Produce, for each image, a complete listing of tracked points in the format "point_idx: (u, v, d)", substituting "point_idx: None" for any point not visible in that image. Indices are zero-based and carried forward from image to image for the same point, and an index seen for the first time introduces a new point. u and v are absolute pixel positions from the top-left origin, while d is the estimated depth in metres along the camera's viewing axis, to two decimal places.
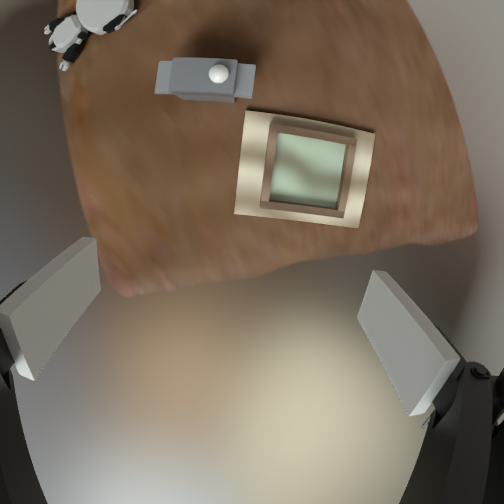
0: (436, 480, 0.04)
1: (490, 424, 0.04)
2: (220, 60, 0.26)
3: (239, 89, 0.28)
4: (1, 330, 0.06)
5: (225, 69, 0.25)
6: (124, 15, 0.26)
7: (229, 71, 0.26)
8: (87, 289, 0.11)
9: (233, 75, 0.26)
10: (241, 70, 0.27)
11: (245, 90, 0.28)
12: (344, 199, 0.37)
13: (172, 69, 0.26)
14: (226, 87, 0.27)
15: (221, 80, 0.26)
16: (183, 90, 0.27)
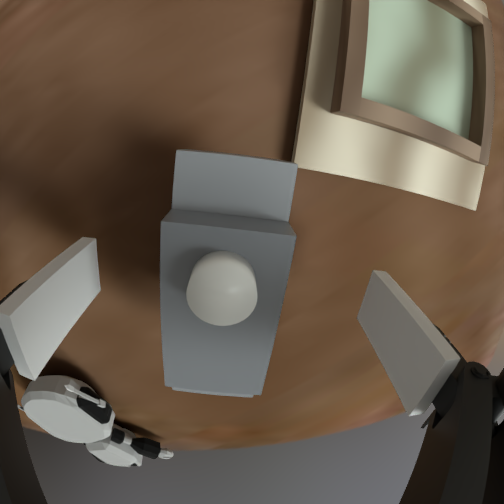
0: (436, 480, 0.04)
1: (490, 424, 0.04)
2: (166, 276, 0.09)
3: (267, 203, 0.10)
4: (1, 330, 0.06)
5: (205, 274, 0.08)
6: (79, 397, 0.18)
7: (208, 248, 0.09)
8: (87, 289, 0.11)
9: (223, 233, 0.08)
10: (197, 196, 0.10)
11: (272, 183, 0.09)
12: (466, 6, 0.09)
13: (199, 388, 0.11)
14: (271, 257, 0.09)
15: (251, 287, 0.08)
16: (265, 366, 0.11)
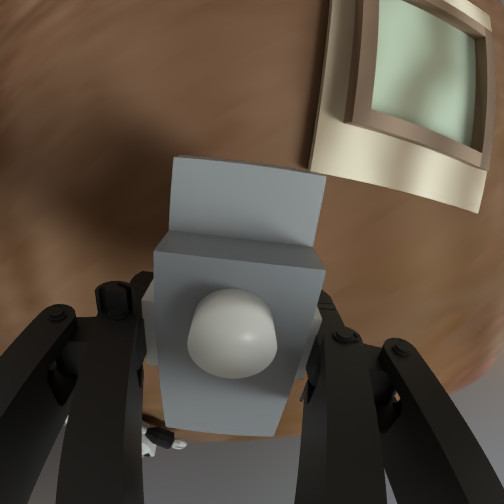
0: (318, 470, 0.04)
1: (370, 393, 0.06)
2: (163, 317, 0.07)
3: (287, 224, 0.08)
4: (143, 320, 0.08)
5: (211, 323, 0.06)
6: None
7: (214, 285, 0.07)
8: None
9: (233, 267, 0.07)
10: (200, 215, 0.08)
11: (294, 200, 0.08)
12: (469, 19, 0.10)
13: (204, 430, 0.09)
14: (293, 296, 0.07)
15: (270, 337, 0.06)
16: (279, 409, 0.09)
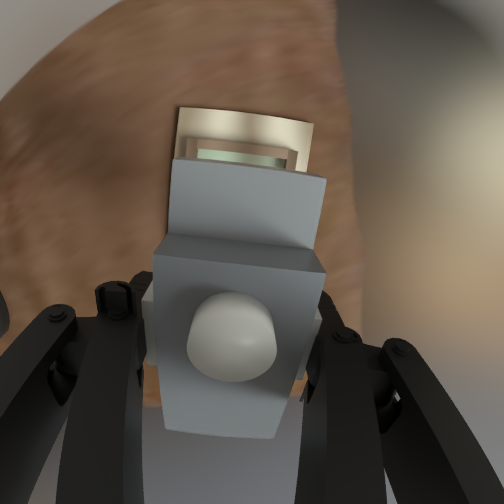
0: (318, 470, 0.04)
1: (370, 393, 0.06)
2: (162, 320, 0.07)
3: (288, 226, 0.08)
4: (144, 320, 0.08)
5: (211, 327, 0.06)
6: None
7: (214, 288, 0.07)
8: None
9: (233, 270, 0.07)
10: (200, 218, 0.08)
11: (294, 203, 0.08)
12: (272, 150, 0.27)
13: (204, 432, 0.09)
14: (293, 299, 0.07)
15: (269, 341, 0.06)
16: (279, 412, 0.09)
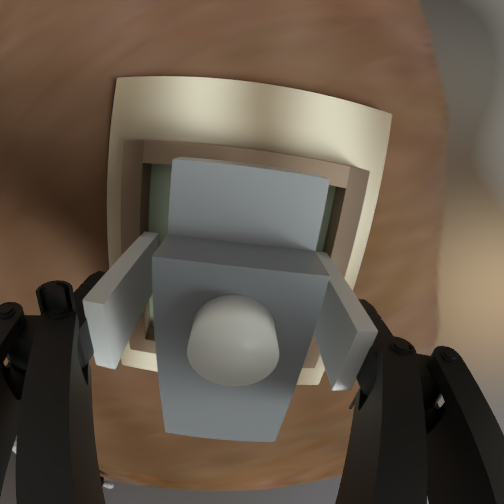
0: (367, 471, 0.04)
1: (421, 402, 0.06)
2: (162, 323, 0.07)
3: (290, 228, 0.08)
4: (86, 320, 0.08)
5: (212, 331, 0.06)
6: None
7: (215, 291, 0.07)
8: (151, 281, 0.13)
9: (234, 273, 0.06)
10: (200, 219, 0.07)
11: (296, 204, 0.07)
12: (315, 167, 0.12)
13: (205, 436, 0.09)
14: (296, 303, 0.07)
15: (272, 345, 0.06)
16: (281, 415, 0.09)
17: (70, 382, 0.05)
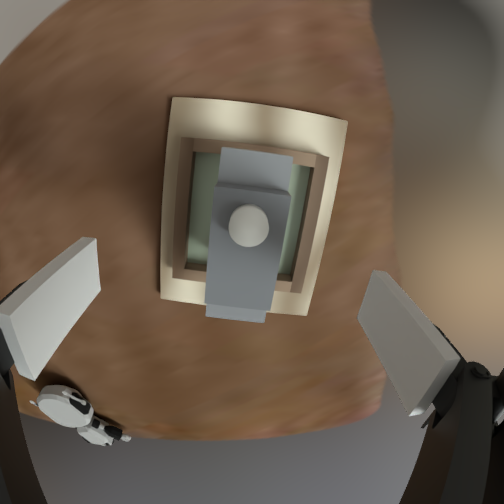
0: (436, 480, 0.04)
1: (490, 424, 0.04)
2: (215, 220, 0.15)
3: (275, 179, 0.16)
4: (1, 330, 0.06)
5: (240, 214, 0.14)
6: (70, 398, 0.30)
7: (241, 202, 0.15)
8: (87, 289, 0.11)
9: (250, 194, 0.15)
10: (233, 175, 0.16)
11: (278, 168, 0.16)
12: (294, 155, 0.20)
13: (228, 304, 0.17)
14: (277, 209, 0.15)
15: (265, 222, 0.14)
16: (273, 286, 0.17)
17: None
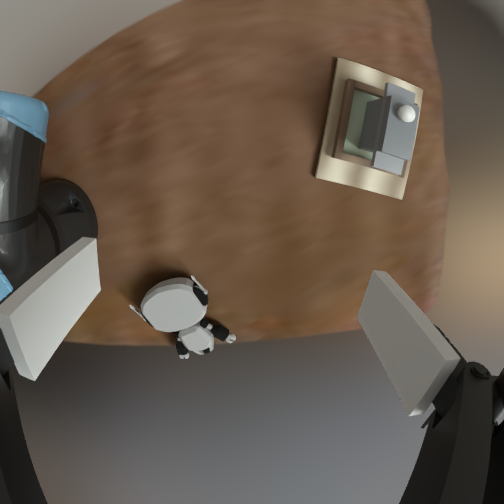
0: (436, 480, 0.04)
1: (490, 424, 0.04)
2: (391, 109, 0.27)
3: (409, 101, 0.28)
4: (1, 330, 0.06)
5: (405, 106, 0.26)
6: (194, 286, 0.42)
7: (401, 104, 0.27)
8: (87, 289, 0.11)
9: (405, 101, 0.27)
10: (393, 95, 0.28)
11: (410, 96, 0.28)
12: None
13: (392, 153, 0.29)
14: (414, 110, 0.27)
15: (414, 112, 0.26)
16: (411, 147, 0.29)
17: None
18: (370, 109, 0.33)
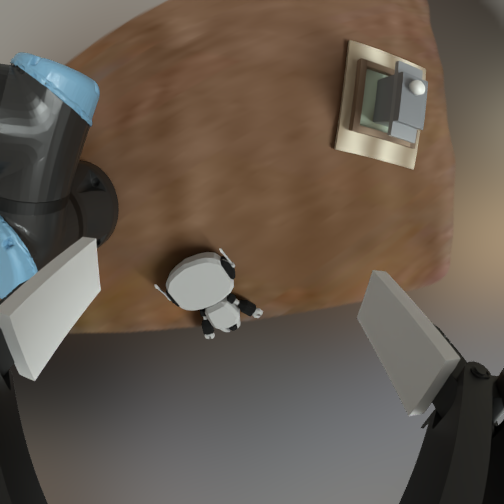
0: (436, 480, 0.04)
1: (490, 424, 0.04)
2: (403, 84, 0.28)
3: (417, 77, 0.29)
4: (1, 330, 0.06)
5: (416, 81, 0.27)
6: (222, 260, 0.42)
7: (412, 79, 0.28)
8: (87, 289, 0.11)
9: (415, 77, 0.28)
10: (403, 72, 0.29)
11: (418, 73, 0.29)
12: None
13: (407, 122, 0.30)
14: (423, 85, 0.28)
15: (424, 86, 0.27)
16: (423, 117, 0.30)
17: None
18: (382, 85, 0.33)
